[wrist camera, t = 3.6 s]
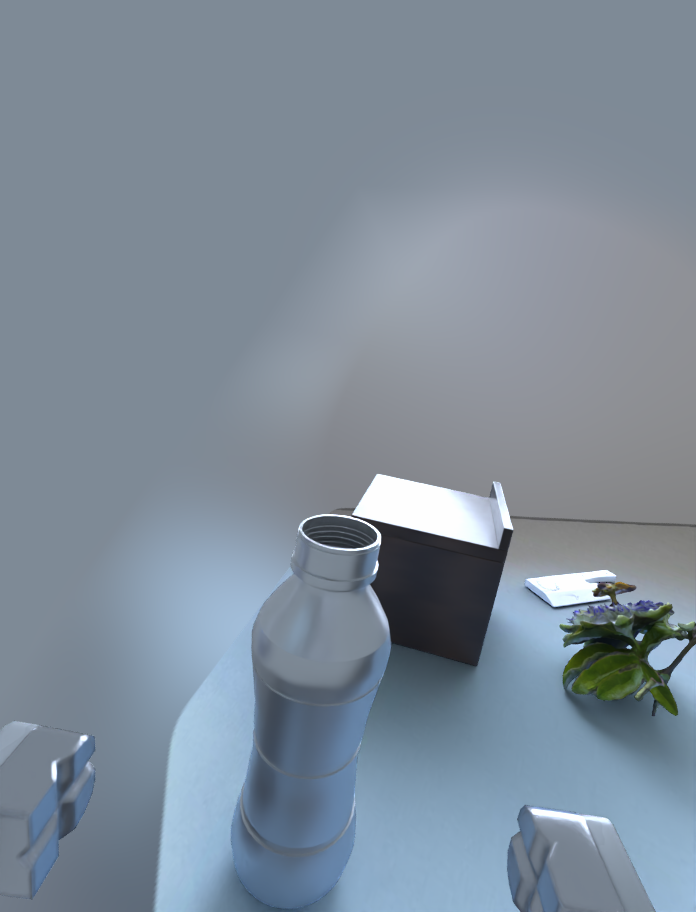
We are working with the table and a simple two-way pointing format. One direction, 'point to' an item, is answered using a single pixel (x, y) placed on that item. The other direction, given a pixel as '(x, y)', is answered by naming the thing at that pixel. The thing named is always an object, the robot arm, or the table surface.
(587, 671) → the passion flower
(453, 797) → the table surface
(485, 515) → the block with raised lip
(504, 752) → the table surface
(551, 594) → the white plastic strip tool
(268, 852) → the plastic bottle
